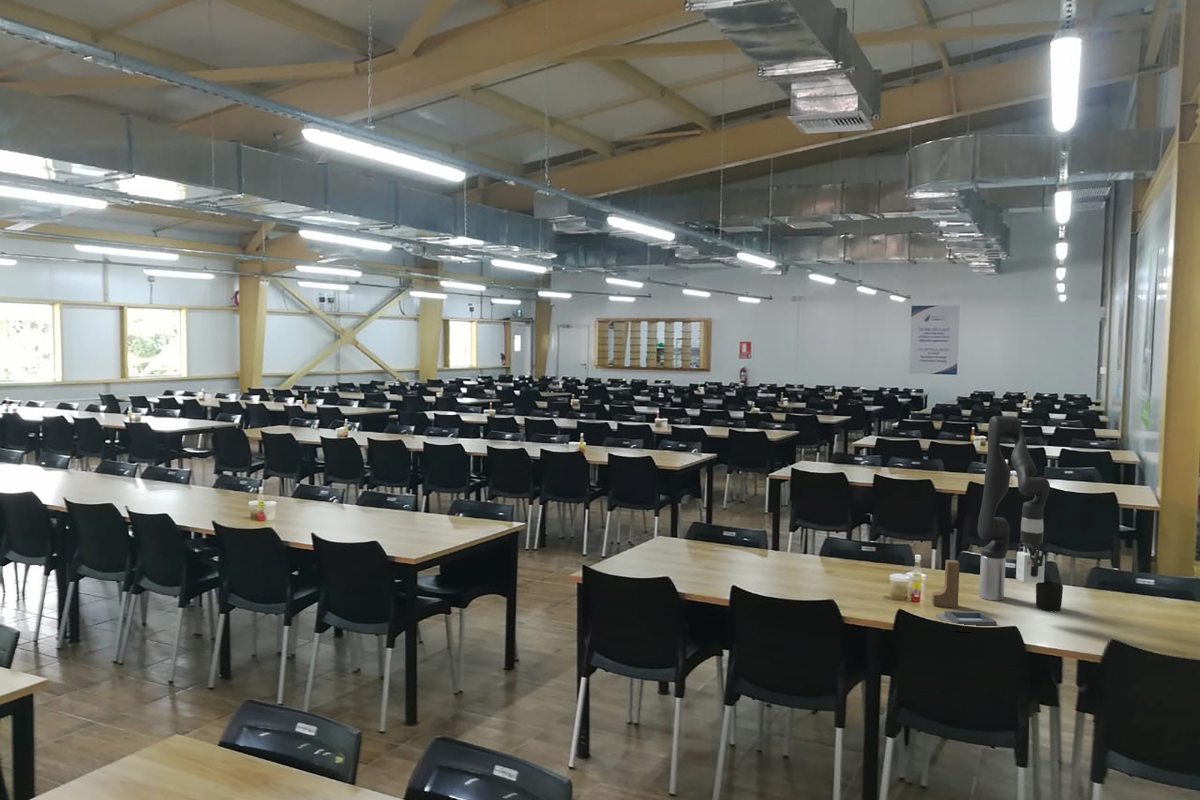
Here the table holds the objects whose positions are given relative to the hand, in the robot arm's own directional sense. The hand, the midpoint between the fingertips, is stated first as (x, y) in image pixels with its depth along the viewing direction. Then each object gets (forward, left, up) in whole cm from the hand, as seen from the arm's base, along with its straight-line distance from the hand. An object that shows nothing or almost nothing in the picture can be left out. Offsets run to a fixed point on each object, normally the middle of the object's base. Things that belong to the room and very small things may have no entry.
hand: (1029, 573), depth 318 cm
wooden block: (-16, -25, -18) cm, 35 cm away
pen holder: (-14, +15, -18) cm, 27 cm away
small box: (0, 0, -3) cm, 3 cm away
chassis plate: (+7, -25, -18) cm, 31 cm away
